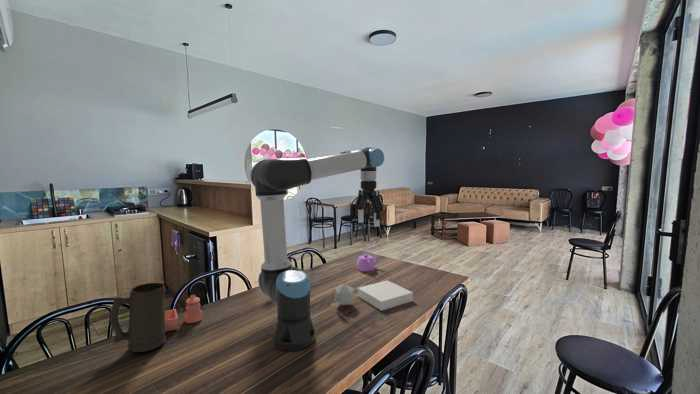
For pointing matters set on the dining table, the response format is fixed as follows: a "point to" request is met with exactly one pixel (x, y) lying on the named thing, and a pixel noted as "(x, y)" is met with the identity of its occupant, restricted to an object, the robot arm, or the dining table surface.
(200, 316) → the pottery
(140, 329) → the beer stein
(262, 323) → the dining table surface
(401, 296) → the plinth
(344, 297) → the die
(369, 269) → the teapot
